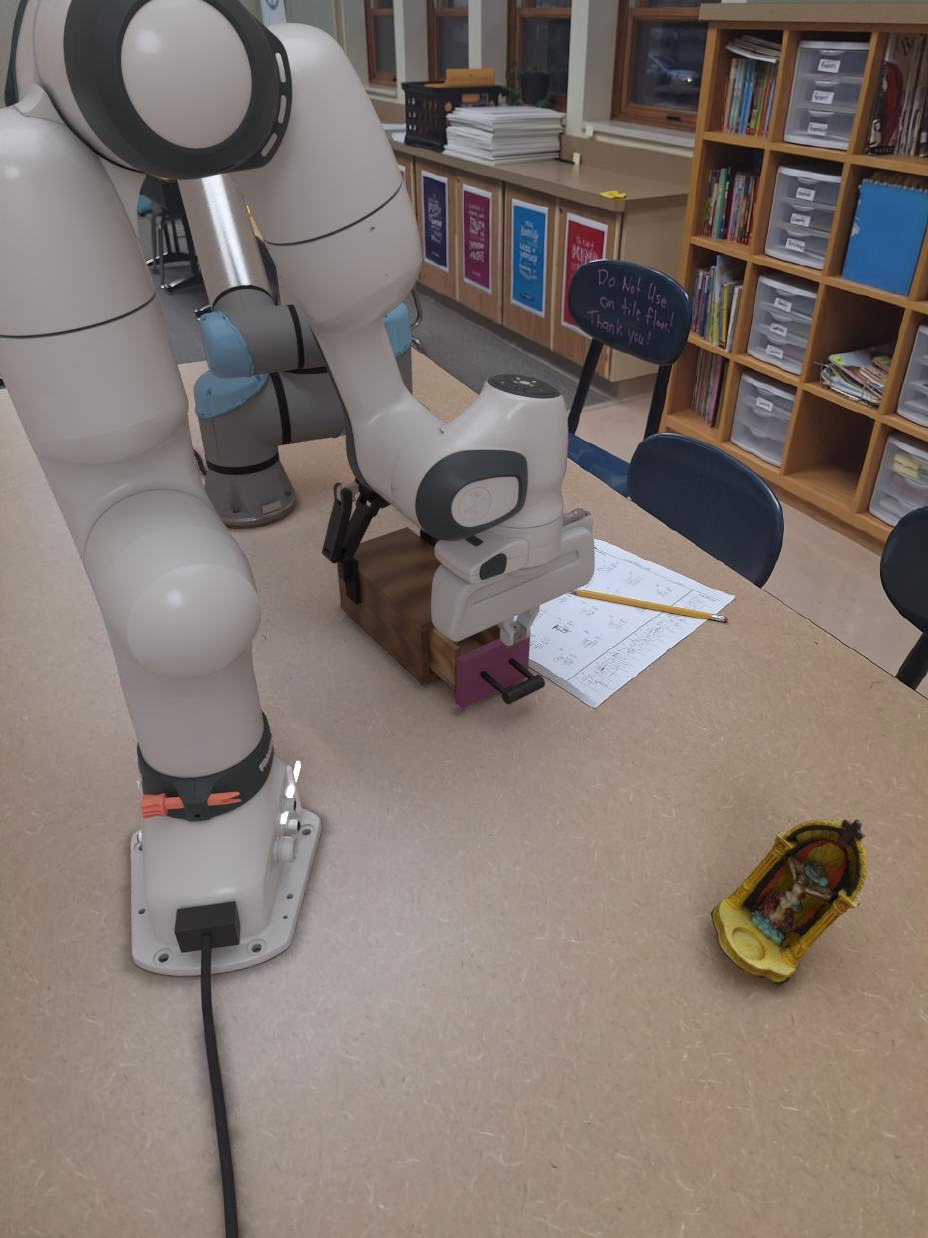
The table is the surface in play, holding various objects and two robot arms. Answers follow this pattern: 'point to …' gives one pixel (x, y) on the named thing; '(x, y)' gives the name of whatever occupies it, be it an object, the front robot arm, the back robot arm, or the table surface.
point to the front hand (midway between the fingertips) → (514, 639)
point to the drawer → (483, 666)
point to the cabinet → (396, 597)
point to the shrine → (792, 897)
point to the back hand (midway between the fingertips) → (392, 584)
